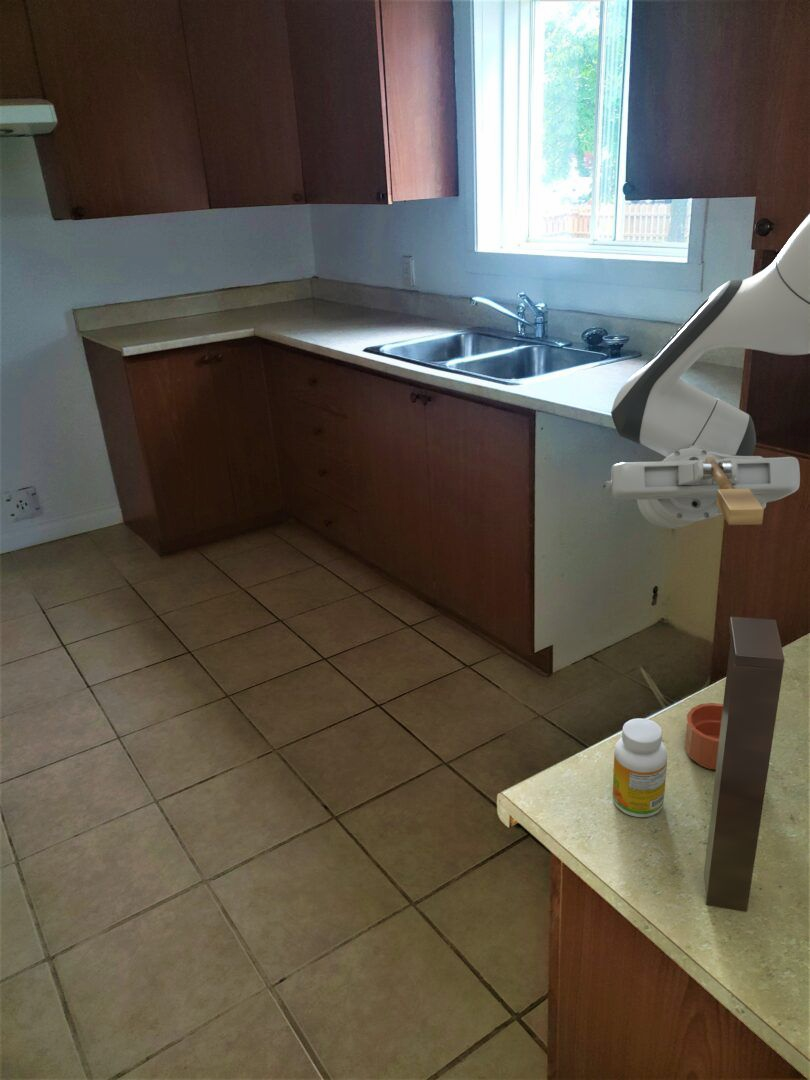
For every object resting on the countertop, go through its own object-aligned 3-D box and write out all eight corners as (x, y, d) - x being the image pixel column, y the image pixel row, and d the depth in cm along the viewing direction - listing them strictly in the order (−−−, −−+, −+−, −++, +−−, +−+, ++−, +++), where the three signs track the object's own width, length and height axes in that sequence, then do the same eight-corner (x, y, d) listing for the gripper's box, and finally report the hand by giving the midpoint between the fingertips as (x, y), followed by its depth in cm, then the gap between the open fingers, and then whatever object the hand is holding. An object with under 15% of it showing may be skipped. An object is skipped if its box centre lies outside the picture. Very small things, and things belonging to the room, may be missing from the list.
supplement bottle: (611, 781, 92) (614, 712, 88) (661, 785, 91) (667, 715, 87) (612, 816, 87) (616, 744, 83) (665, 821, 86) (671, 748, 82)
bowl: (745, 737, 97) (749, 706, 95) (750, 777, 91) (755, 745, 89) (683, 730, 99) (686, 700, 97) (684, 769, 93) (687, 737, 91)
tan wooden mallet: (762, 524, 76) (764, 508, 75) (728, 525, 76) (730, 509, 76) (722, 466, 89) (723, 452, 88) (693, 467, 90) (695, 453, 89)
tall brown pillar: (741, 861, 81) (775, 619, 69) (747, 911, 75) (784, 659, 63) (703, 856, 82) (730, 616, 70) (705, 905, 76) (735, 655, 64)
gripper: (600, 463, 101) (615, 442, 87) (773, 457, 98) (817, 435, 84) (602, 514, 100) (617, 501, 87) (776, 509, 98) (820, 495, 84)
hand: (717, 468), depth 85 cm, fingers closed on tan wooden mallet, 1 cm apart
